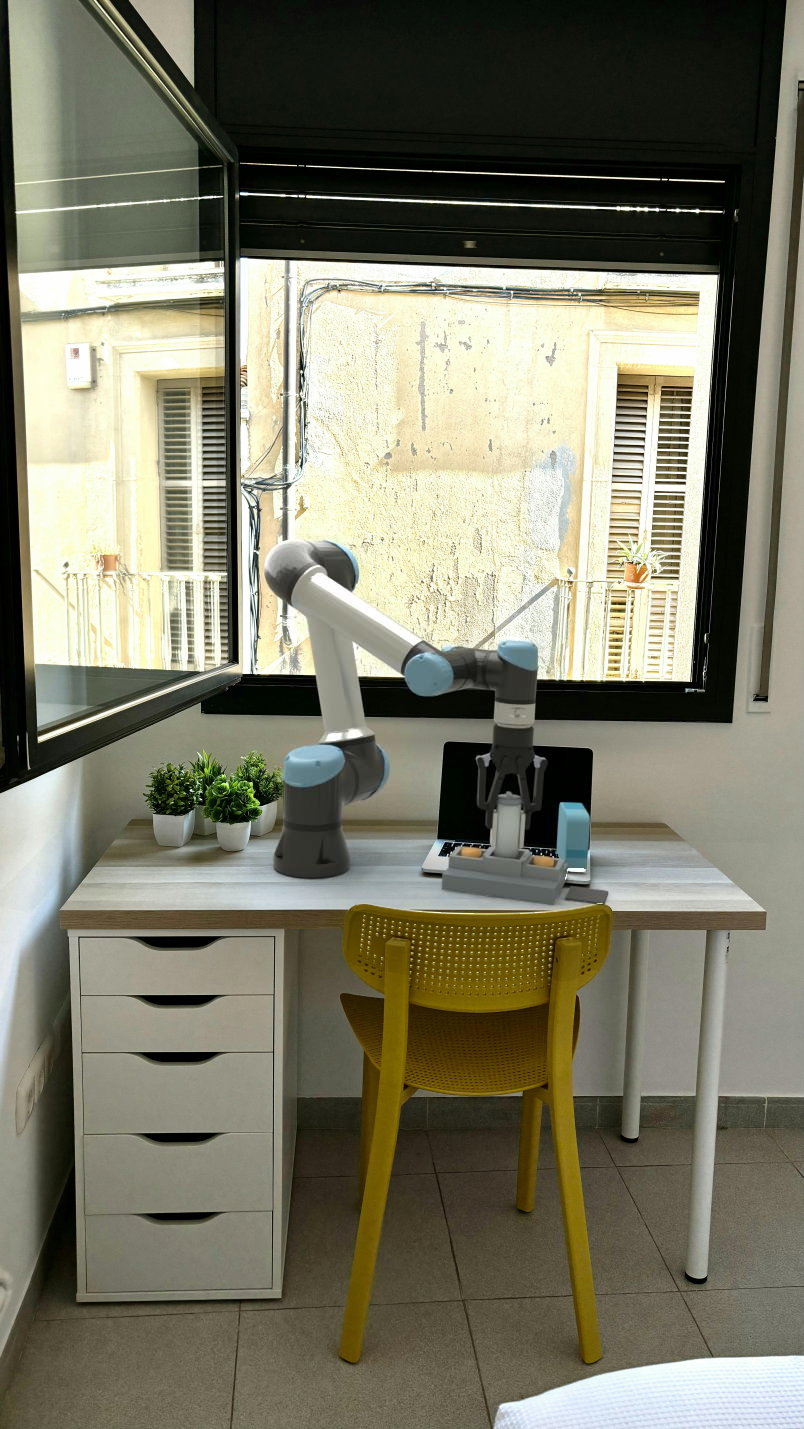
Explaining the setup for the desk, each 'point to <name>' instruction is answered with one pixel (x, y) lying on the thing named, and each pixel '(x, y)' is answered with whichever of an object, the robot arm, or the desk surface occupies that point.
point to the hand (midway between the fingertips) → (506, 844)
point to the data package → (573, 834)
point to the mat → (586, 895)
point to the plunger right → (543, 861)
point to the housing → (505, 876)
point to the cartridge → (508, 825)
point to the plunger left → (471, 852)
